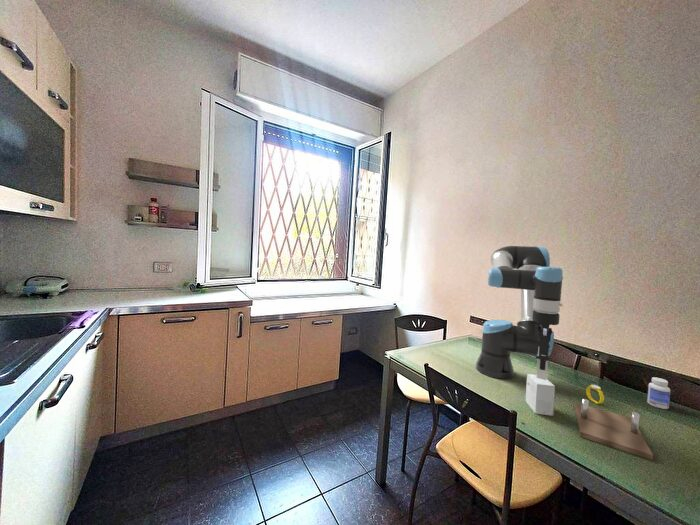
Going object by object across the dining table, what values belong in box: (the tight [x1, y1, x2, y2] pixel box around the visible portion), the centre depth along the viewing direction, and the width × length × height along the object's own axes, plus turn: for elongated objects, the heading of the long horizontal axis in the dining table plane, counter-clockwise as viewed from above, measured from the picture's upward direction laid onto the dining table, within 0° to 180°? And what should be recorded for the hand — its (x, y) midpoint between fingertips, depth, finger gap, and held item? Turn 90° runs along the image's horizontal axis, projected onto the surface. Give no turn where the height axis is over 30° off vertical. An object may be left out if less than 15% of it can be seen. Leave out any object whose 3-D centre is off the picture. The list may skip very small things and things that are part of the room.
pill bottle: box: [646, 376, 671, 410], centre depth 101 cm, size 5×5×10 cm
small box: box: [525, 373, 556, 417], centre depth 96 cm, size 8×6×10 cm
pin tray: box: [573, 398, 654, 461], centre depth 86 cm, size 15×20×8 cm
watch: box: [585, 384, 605, 405], centre depth 102 cm, size 6×3×6 cm, turn 2°
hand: (541, 371), depth 95 cm, fingers open, 13 cm apart
